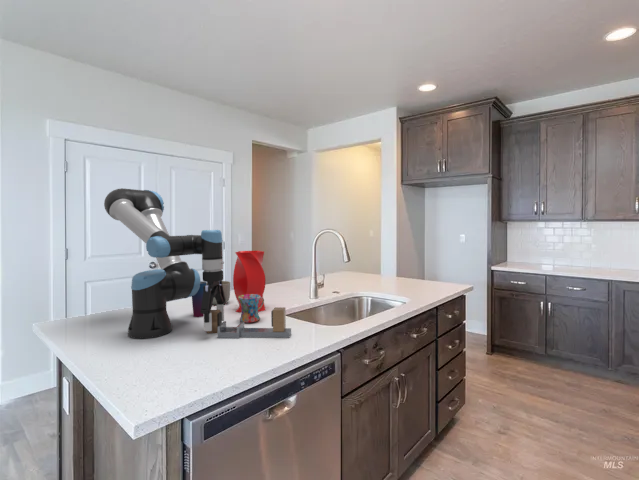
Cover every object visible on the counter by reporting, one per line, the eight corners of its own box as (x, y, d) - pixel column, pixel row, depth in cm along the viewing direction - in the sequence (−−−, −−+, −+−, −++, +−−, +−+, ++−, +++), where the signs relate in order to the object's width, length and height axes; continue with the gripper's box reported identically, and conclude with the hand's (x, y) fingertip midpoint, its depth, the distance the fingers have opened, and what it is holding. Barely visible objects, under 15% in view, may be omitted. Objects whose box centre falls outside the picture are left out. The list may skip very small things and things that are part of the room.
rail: (217, 338, 128) (216, 310, 127) (223, 331, 135) (223, 306, 134) (288, 338, 126) (288, 311, 126) (291, 332, 133) (291, 306, 133)
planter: (204, 302, 186) (204, 282, 186) (228, 300, 191) (228, 280, 191) (207, 307, 175) (207, 285, 174) (232, 304, 180) (232, 283, 180)
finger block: (207, 333, 134) (206, 312, 133) (210, 330, 138) (210, 309, 137) (218, 333, 133) (218, 312, 133) (222, 330, 137) (222, 309, 137)
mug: (246, 325, 143) (246, 299, 143) (234, 321, 150) (233, 296, 149) (270, 319, 152) (270, 295, 151) (257, 315, 158) (257, 292, 158)
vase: (242, 315, 160) (241, 253, 158) (228, 309, 171) (227, 251, 170) (271, 309, 169) (270, 251, 168) (256, 304, 180) (255, 249, 179)
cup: (188, 316, 157) (187, 283, 157) (198, 313, 164) (197, 281, 163) (200, 318, 155) (199, 284, 154) (210, 314, 161) (209, 281, 160)
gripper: (210, 274, 122) (212, 335, 123) (232, 266, 147) (233, 317, 147) (189, 274, 122) (191, 335, 123) (214, 266, 147) (216, 317, 148)
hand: (214, 325), depth 135 cm, fingers open, 13 cm apart
